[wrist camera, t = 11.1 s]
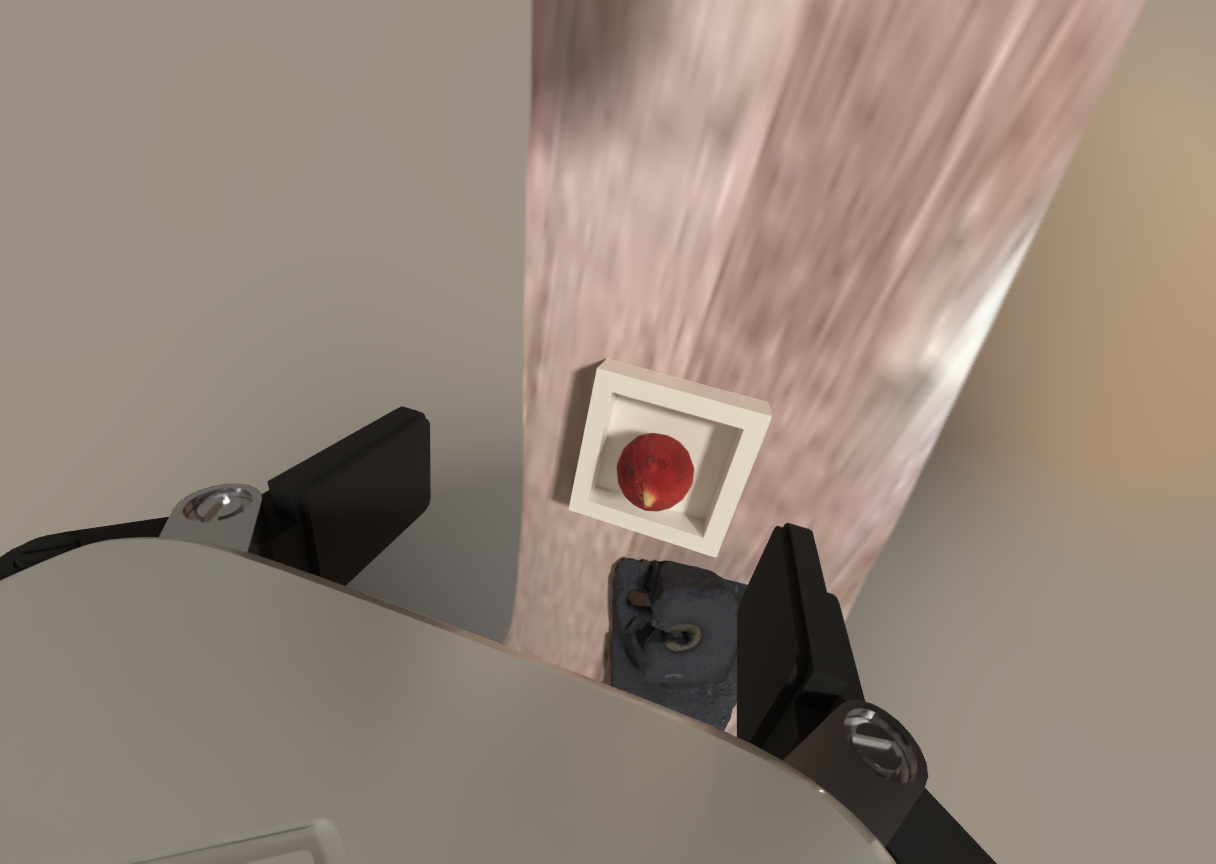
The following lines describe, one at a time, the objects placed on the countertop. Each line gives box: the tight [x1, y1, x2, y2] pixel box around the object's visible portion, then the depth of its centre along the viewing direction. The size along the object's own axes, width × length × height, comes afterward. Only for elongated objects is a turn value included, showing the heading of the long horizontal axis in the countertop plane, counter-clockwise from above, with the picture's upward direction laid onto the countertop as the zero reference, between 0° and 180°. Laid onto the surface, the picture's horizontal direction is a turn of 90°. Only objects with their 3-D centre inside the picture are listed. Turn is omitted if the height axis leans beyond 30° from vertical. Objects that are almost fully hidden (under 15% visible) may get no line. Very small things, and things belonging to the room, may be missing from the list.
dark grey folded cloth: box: [610, 558, 748, 731], centre depth 44 cm, size 15×22×5 cm
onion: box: [617, 433, 694, 512], centre depth 34 cm, size 6×6×8 cm
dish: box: [569, 358, 772, 558], centre depth 36 cm, size 13×13×3 cm
